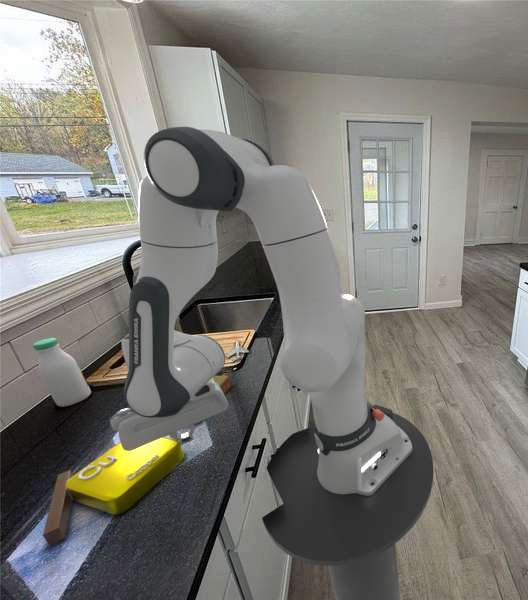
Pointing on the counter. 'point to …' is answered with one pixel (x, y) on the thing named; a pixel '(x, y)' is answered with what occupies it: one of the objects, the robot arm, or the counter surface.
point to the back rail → (59, 511)
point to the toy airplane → (237, 351)
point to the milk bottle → (60, 373)
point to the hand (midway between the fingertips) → (187, 441)
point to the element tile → (124, 475)
